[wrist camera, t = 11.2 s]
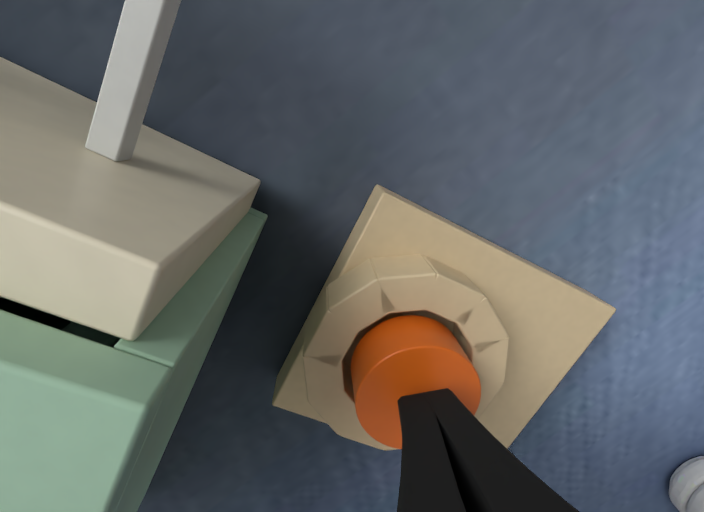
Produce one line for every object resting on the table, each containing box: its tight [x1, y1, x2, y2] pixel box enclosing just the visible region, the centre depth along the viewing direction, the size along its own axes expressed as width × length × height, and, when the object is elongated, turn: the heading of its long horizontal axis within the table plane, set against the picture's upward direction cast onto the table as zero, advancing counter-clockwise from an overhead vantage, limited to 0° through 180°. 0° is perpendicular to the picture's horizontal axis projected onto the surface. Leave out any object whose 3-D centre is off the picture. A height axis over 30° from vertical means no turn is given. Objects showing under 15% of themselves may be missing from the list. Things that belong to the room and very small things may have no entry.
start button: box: [351, 315, 481, 449], centre depth 11 cm, size 4×4×2 cm
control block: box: [272, 185, 616, 451], centre depth 14 cm, size 10×9×4 cm
